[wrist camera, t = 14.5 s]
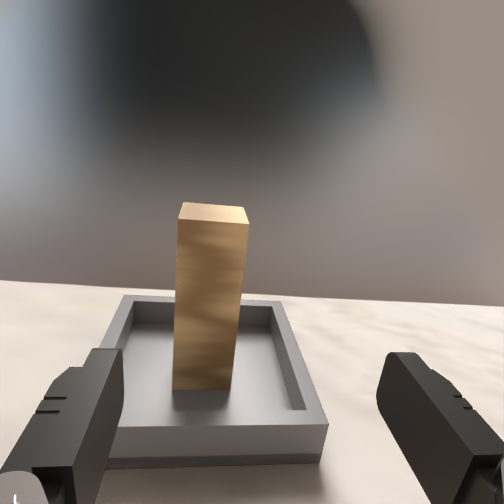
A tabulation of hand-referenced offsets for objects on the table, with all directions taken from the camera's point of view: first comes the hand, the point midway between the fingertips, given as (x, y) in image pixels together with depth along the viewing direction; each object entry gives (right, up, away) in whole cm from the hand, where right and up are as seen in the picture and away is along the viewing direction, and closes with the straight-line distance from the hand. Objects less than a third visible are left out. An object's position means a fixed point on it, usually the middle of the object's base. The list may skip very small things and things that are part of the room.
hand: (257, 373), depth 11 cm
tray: (-4, -6, +15) cm, 17 cm away
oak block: (-4, -5, +15) cm, 16 cm away
